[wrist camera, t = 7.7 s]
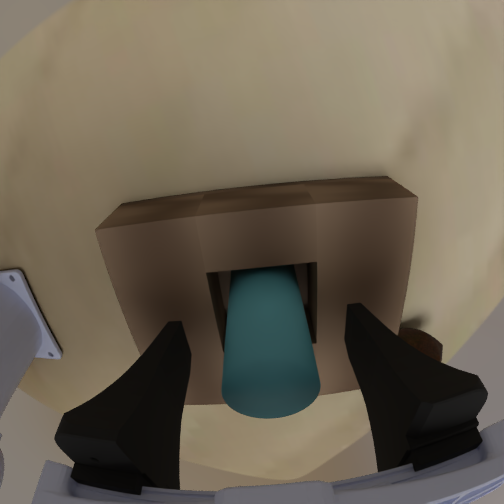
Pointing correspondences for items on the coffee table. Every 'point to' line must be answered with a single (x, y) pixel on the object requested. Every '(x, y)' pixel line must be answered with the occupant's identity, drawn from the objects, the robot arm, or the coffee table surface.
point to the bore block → (262, 264)
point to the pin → (268, 345)
